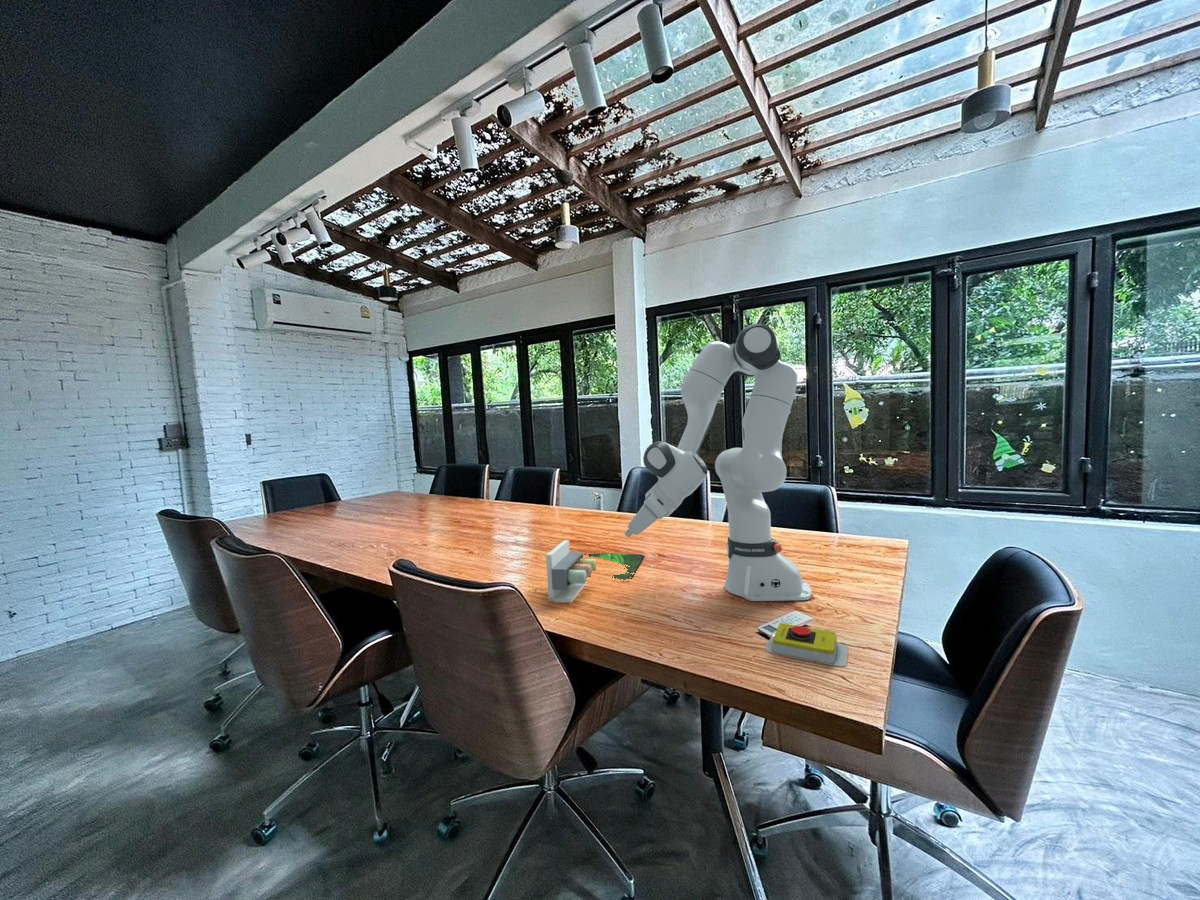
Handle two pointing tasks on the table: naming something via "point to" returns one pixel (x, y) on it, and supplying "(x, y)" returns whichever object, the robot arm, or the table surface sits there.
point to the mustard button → (588, 562)
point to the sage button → (576, 576)
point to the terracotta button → (583, 568)
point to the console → (562, 573)
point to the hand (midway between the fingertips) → (627, 534)
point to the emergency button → (808, 645)
